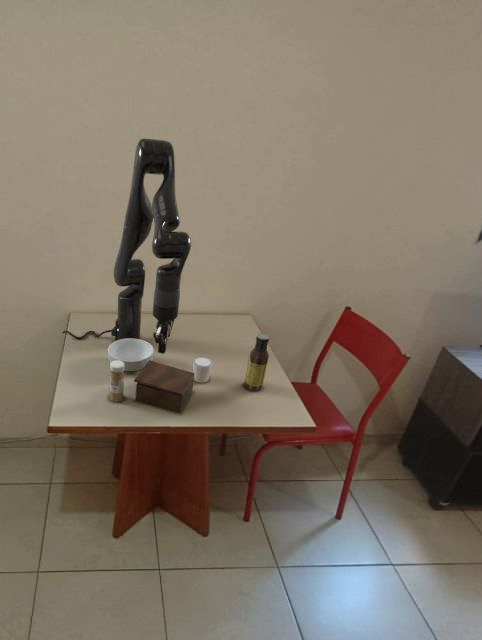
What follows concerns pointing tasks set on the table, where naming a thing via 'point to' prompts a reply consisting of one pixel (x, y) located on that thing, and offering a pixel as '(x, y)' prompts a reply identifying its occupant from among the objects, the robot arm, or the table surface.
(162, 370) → the chest lid
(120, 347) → the cereal bowl
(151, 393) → the chest
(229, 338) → the table surface
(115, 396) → the sprinkles bottle
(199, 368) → the shot glass
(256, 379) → the sauce bottle
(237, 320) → the table surface
